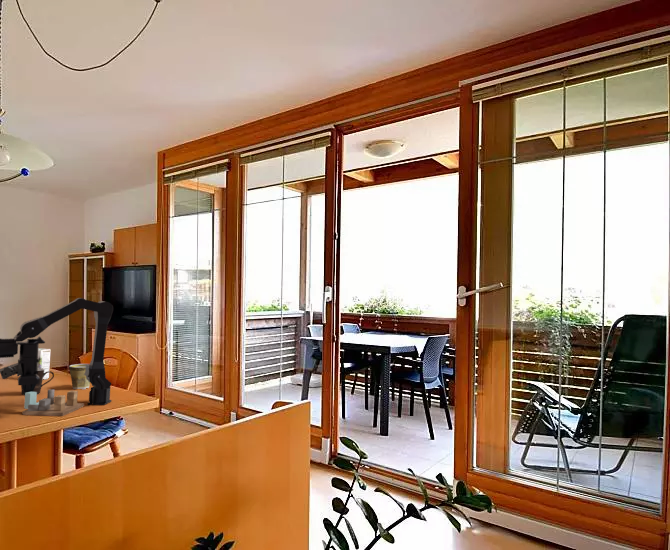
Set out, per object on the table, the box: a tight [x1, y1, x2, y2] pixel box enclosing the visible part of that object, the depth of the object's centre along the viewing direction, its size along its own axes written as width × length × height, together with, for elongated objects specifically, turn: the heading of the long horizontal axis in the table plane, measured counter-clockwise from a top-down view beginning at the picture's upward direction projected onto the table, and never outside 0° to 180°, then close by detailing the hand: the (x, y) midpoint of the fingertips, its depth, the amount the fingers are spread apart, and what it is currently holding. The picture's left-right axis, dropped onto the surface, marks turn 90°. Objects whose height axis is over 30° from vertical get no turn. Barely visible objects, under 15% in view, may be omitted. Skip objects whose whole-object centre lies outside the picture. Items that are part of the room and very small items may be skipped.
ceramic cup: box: [68, 363, 91, 390], centre depth 211 cm, size 13×10×10 cm
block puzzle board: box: [22, 388, 85, 417], centre depth 171 cm, size 14×14×6 cm
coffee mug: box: [20, 368, 55, 396], centre depth 196 cm, size 12×9×10 cm
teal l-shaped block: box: [23, 392, 39, 410], centre depth 170 cm, size 7×2×6 cm, turn 161°
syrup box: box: [38, 347, 51, 380], centre depth 227 cm, size 6×6×14 cm
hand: (27, 399), depth 170 cm, fingers closed
